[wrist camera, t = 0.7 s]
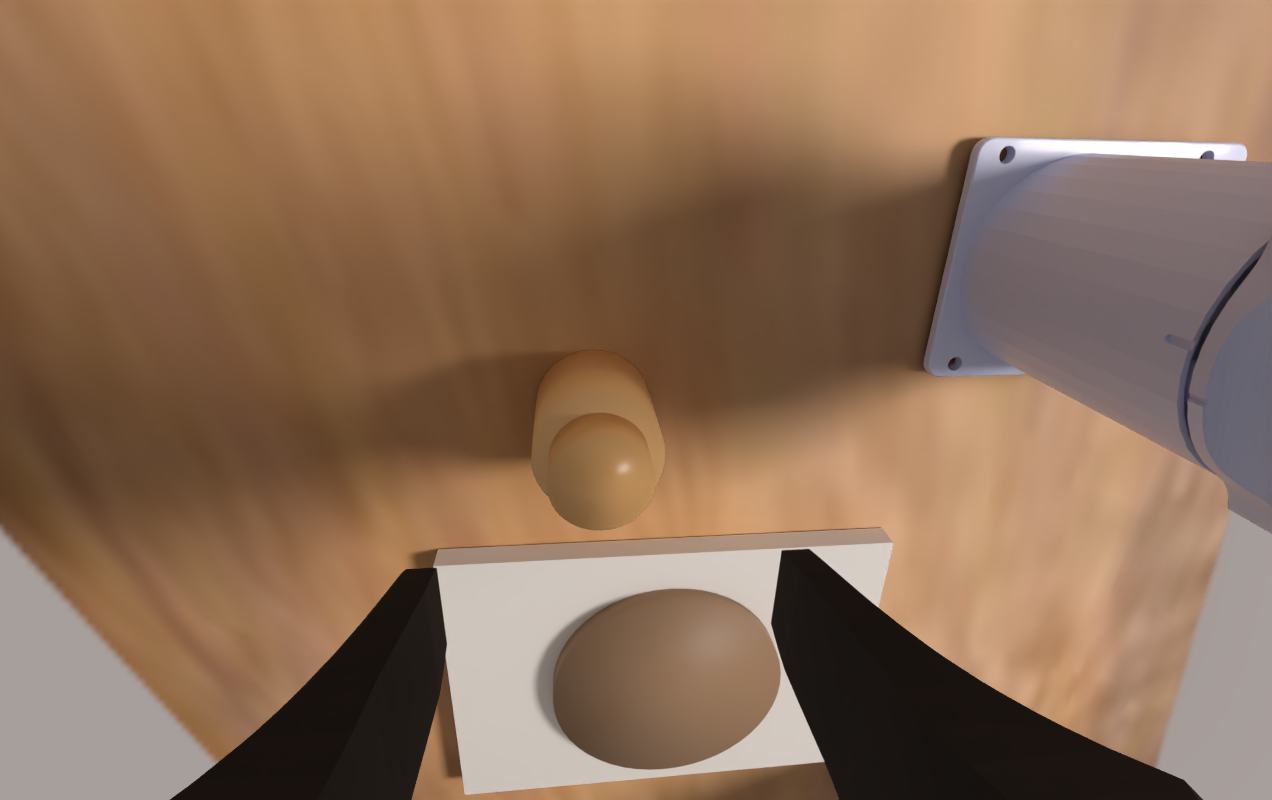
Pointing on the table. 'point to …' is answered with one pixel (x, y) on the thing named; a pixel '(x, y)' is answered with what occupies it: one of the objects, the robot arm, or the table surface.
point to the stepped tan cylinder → (596, 440)
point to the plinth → (629, 655)
